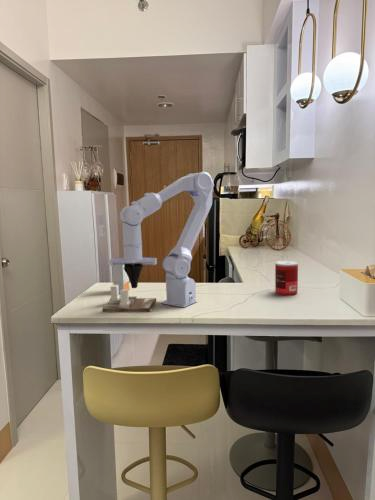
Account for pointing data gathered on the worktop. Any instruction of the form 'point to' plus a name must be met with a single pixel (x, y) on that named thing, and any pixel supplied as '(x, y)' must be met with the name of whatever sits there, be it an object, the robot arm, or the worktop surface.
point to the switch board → (134, 306)
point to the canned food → (286, 277)
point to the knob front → (124, 298)
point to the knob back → (114, 292)
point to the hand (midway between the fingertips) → (134, 287)
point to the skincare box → (120, 277)
